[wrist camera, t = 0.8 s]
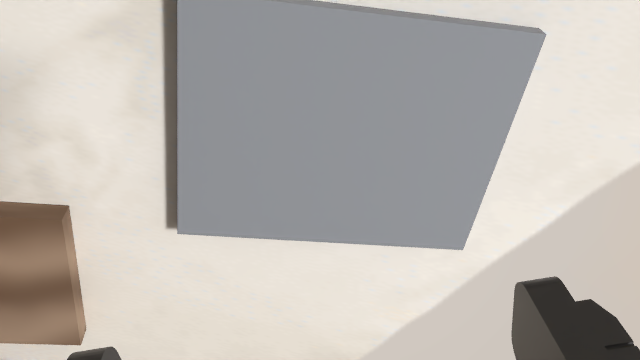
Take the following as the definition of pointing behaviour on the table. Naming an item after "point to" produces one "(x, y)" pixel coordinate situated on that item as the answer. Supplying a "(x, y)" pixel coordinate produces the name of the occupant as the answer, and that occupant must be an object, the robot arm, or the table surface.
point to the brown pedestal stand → (39, 276)
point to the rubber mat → (341, 120)
